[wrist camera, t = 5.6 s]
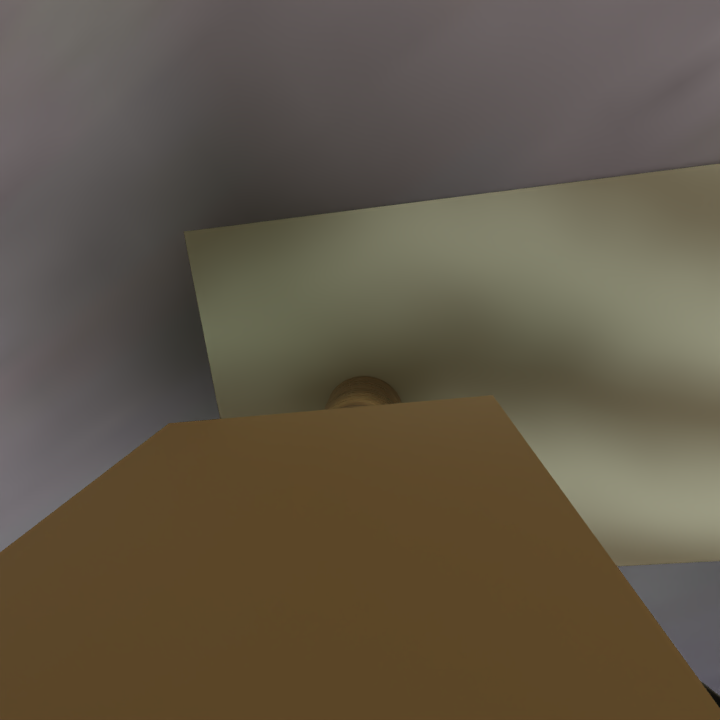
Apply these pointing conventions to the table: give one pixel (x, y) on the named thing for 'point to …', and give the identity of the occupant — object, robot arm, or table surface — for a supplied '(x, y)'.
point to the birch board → (505, 332)
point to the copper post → (362, 393)
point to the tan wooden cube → (331, 582)
